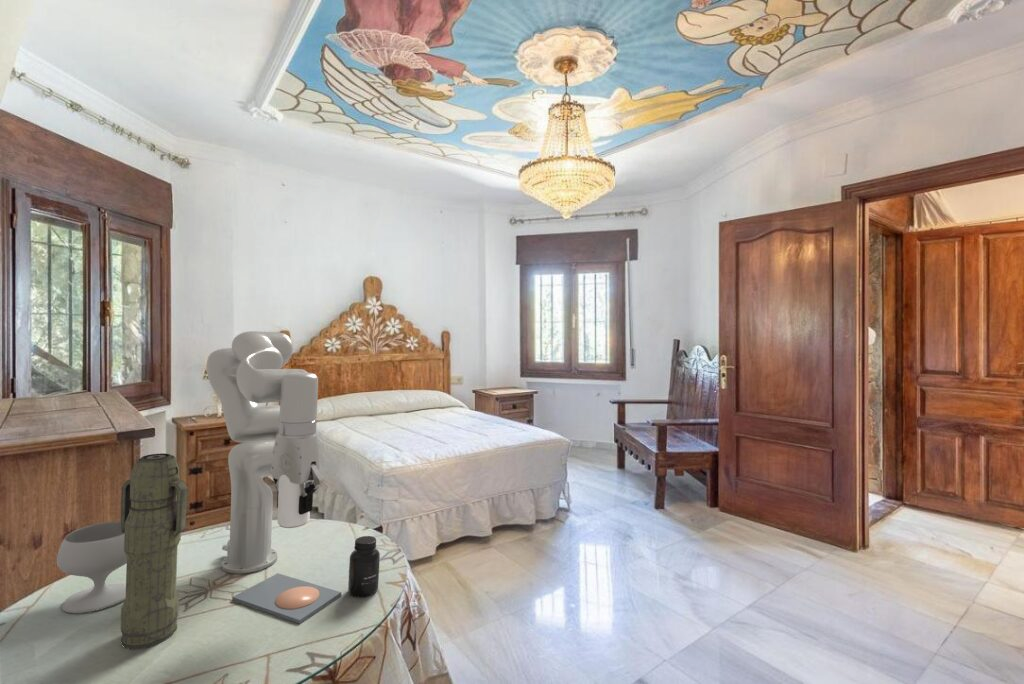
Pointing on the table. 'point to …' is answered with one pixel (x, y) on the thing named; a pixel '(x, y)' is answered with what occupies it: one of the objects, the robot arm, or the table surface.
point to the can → (290, 504)
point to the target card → (287, 597)
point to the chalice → (94, 565)
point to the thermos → (152, 549)
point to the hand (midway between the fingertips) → (294, 508)
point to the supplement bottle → (364, 567)
